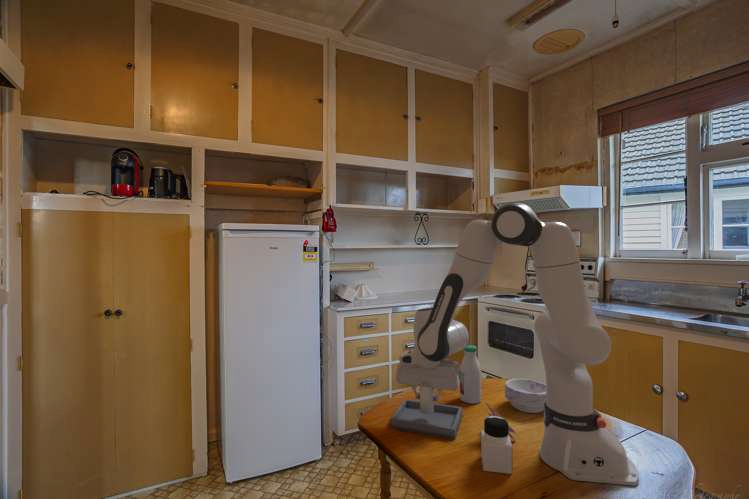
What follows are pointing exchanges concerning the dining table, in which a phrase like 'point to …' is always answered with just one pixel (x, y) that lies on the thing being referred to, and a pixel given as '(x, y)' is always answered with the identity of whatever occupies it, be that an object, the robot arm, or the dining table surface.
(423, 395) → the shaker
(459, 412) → the tray
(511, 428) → the lily
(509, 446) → the medicine bottle
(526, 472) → the dining table surface
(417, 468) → the dining table surface
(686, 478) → the dining table surface
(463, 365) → the milk bottle
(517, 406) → the paper bowls
